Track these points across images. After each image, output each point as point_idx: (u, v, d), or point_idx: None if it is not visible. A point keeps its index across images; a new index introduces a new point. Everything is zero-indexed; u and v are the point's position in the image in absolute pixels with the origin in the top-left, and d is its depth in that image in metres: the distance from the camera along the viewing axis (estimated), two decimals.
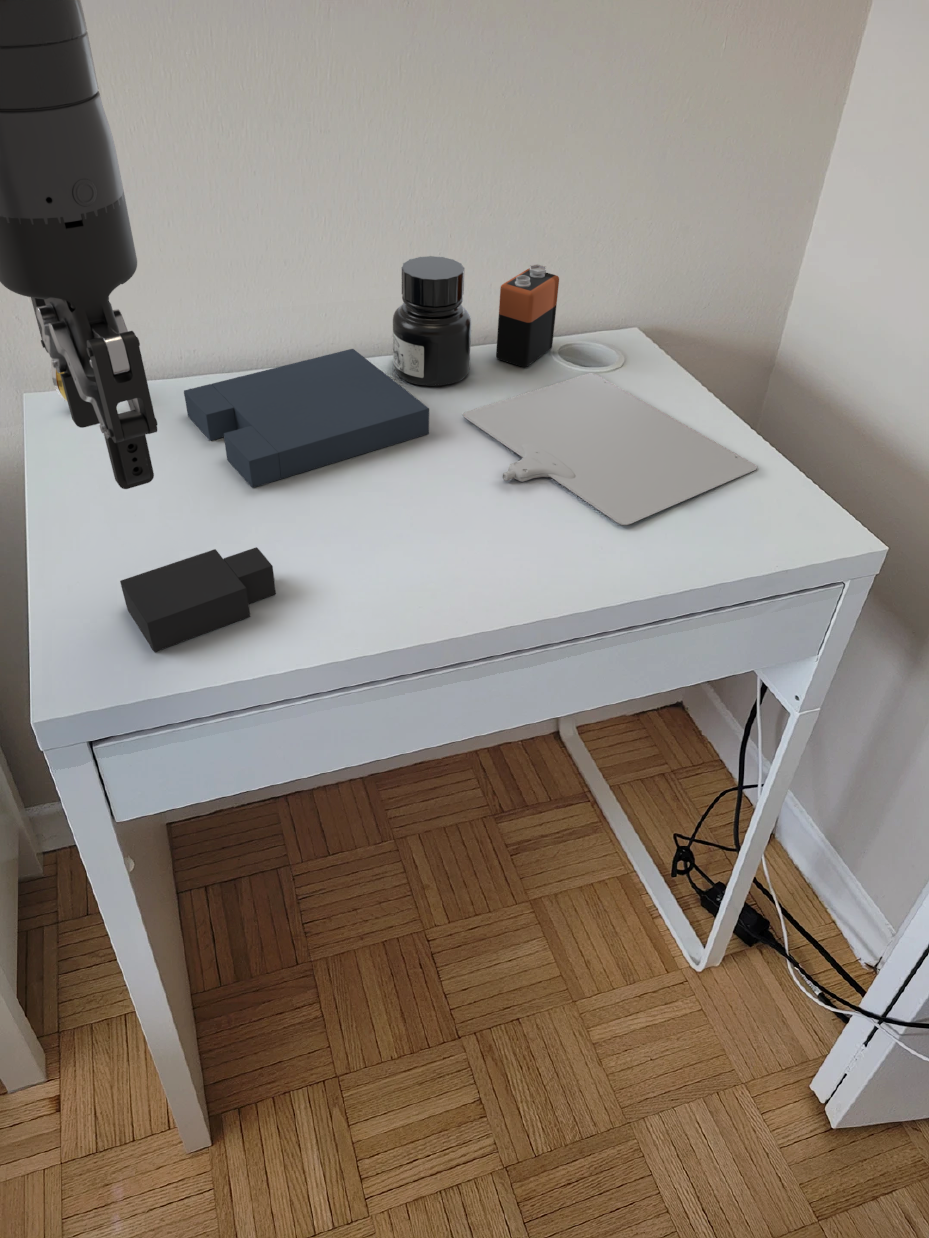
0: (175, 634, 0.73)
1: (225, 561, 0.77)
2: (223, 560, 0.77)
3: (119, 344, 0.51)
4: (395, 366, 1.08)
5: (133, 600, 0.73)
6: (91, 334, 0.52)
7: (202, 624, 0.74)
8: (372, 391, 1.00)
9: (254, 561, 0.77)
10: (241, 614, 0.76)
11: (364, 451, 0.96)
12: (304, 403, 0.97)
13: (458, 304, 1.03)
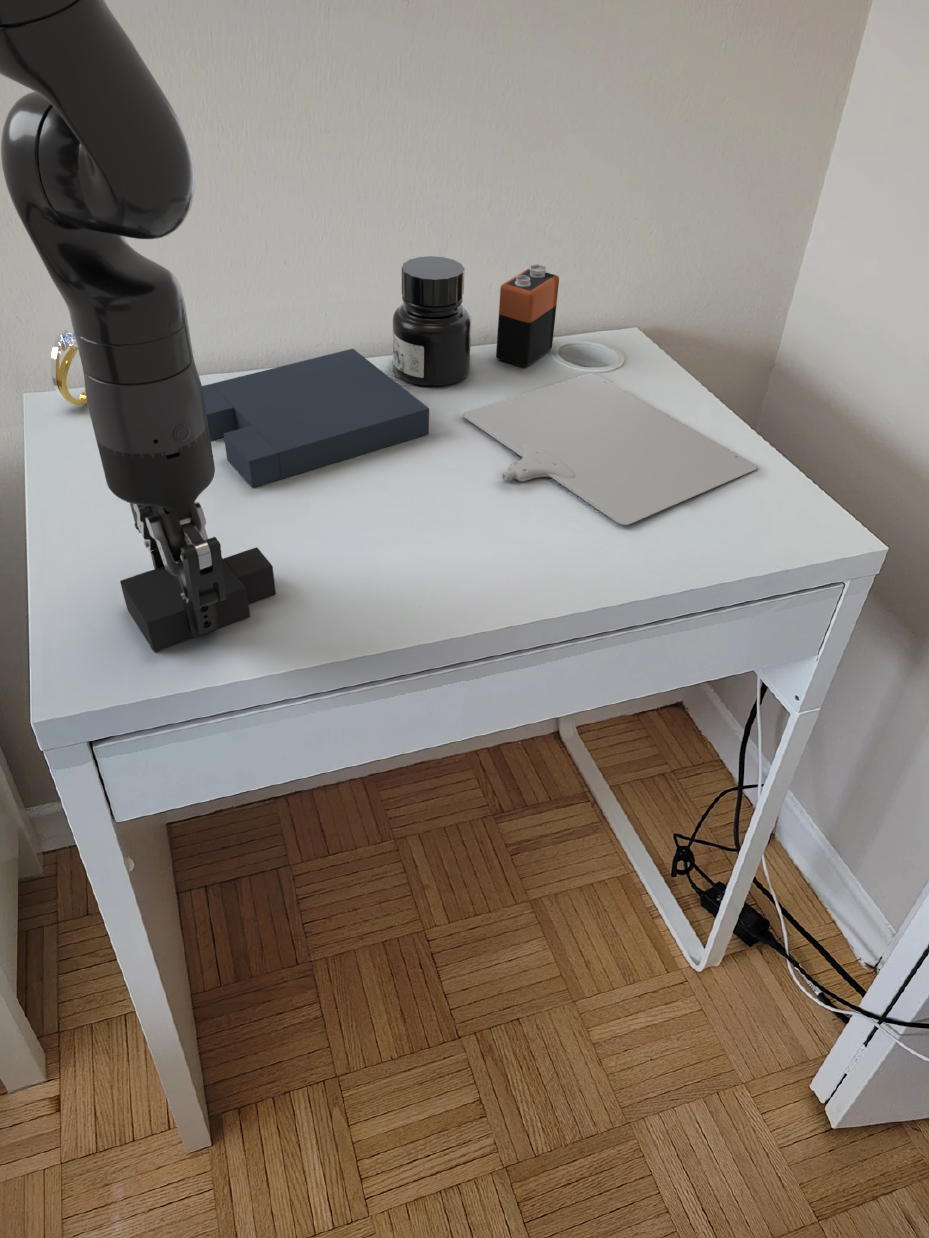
0: (175, 634, 0.73)
1: (225, 561, 0.77)
2: (223, 560, 0.77)
3: (206, 551, 0.66)
4: (395, 366, 1.08)
5: (133, 600, 0.73)
6: (182, 533, 0.67)
7: None
8: (372, 391, 1.00)
9: (254, 561, 0.77)
10: (241, 614, 0.76)
11: (364, 451, 0.96)
12: (304, 403, 0.97)
13: (458, 304, 1.03)
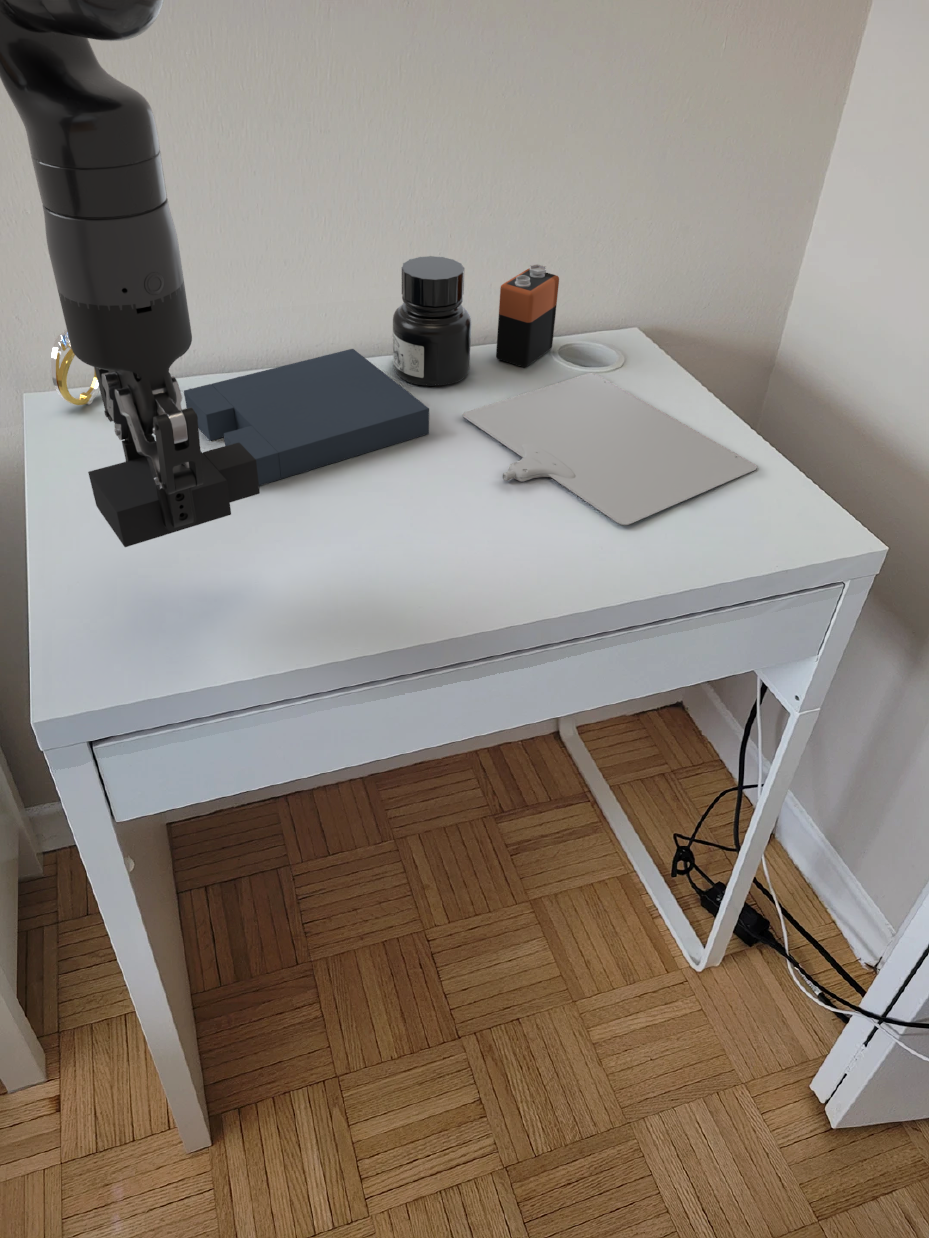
0: (149, 528, 0.67)
1: (204, 455, 0.70)
2: (202, 454, 0.70)
3: (181, 421, 0.59)
4: (395, 366, 1.08)
5: (102, 490, 0.66)
6: (154, 404, 0.60)
7: None
8: (372, 391, 1.00)
9: (236, 455, 0.71)
10: (221, 511, 0.69)
11: (364, 451, 0.96)
12: (304, 403, 0.97)
13: (458, 304, 1.03)
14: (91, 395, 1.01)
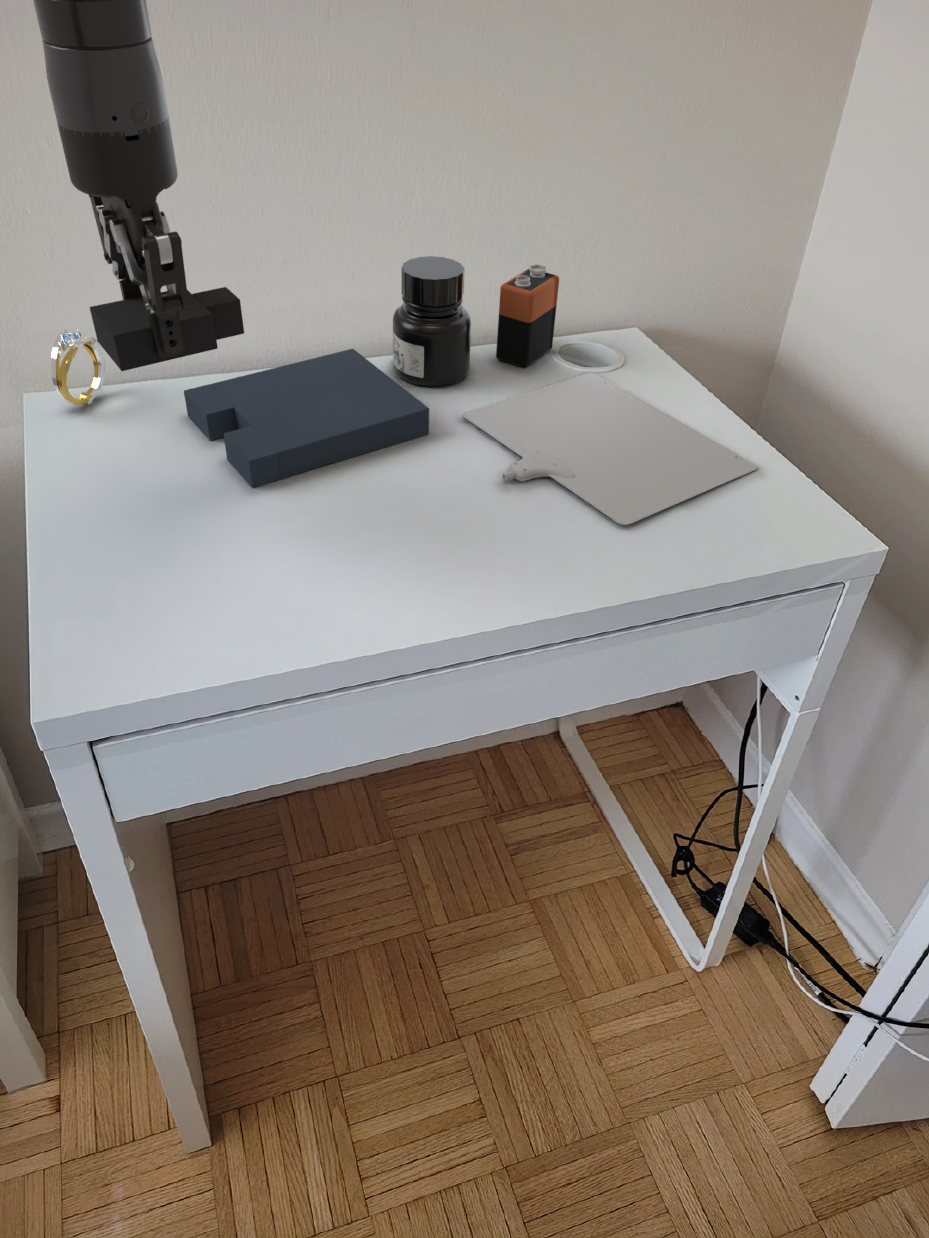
0: (143, 354, 0.75)
1: (193, 295, 0.78)
2: (192, 295, 0.78)
3: (167, 242, 0.67)
4: (395, 366, 1.08)
5: (101, 320, 0.74)
6: (143, 229, 0.68)
7: None
8: (372, 391, 1.00)
9: (222, 296, 0.78)
10: (208, 344, 0.77)
11: (364, 451, 0.96)
12: (304, 403, 0.97)
13: (458, 304, 1.03)
14: (91, 395, 1.01)
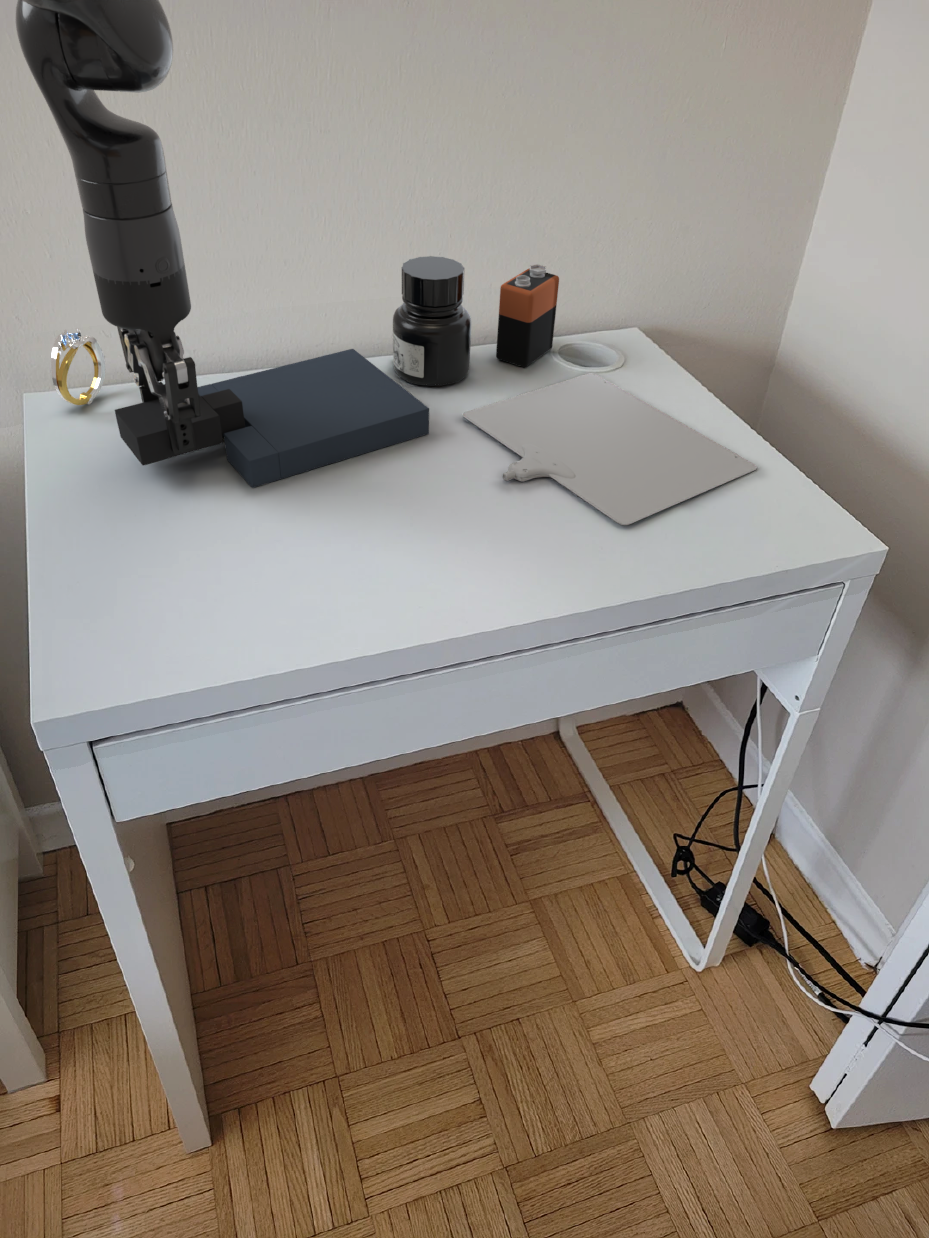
0: (160, 451, 0.88)
1: (202, 398, 0.92)
2: (201, 397, 0.92)
3: (183, 367, 0.81)
4: (395, 366, 1.08)
5: (125, 422, 0.88)
6: (163, 355, 0.82)
7: None
8: (372, 391, 1.00)
9: (227, 398, 0.92)
10: (215, 440, 0.91)
11: (364, 451, 0.96)
12: (304, 403, 0.97)
13: (458, 304, 1.03)
14: (91, 395, 1.01)
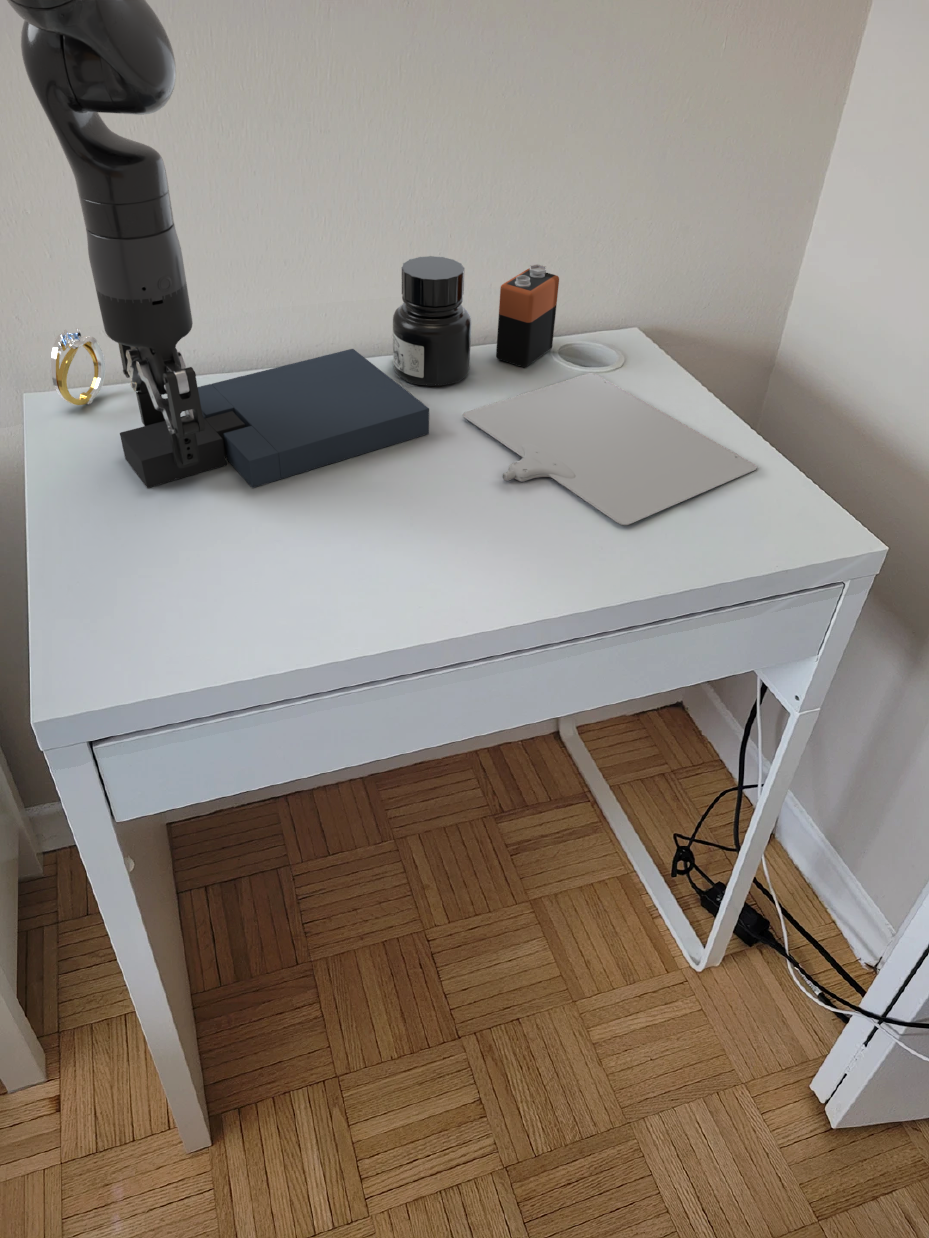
0: (164, 473, 0.90)
1: (206, 420, 0.94)
2: (204, 420, 0.94)
3: (183, 375, 0.81)
4: (395, 366, 1.08)
5: (130, 446, 0.90)
6: (164, 368, 0.83)
7: (186, 467, 0.91)
8: (372, 391, 1.00)
9: (230, 420, 0.94)
10: (218, 462, 0.93)
11: (364, 451, 0.96)
12: (304, 403, 0.97)
13: (458, 304, 1.03)
14: (91, 395, 1.01)
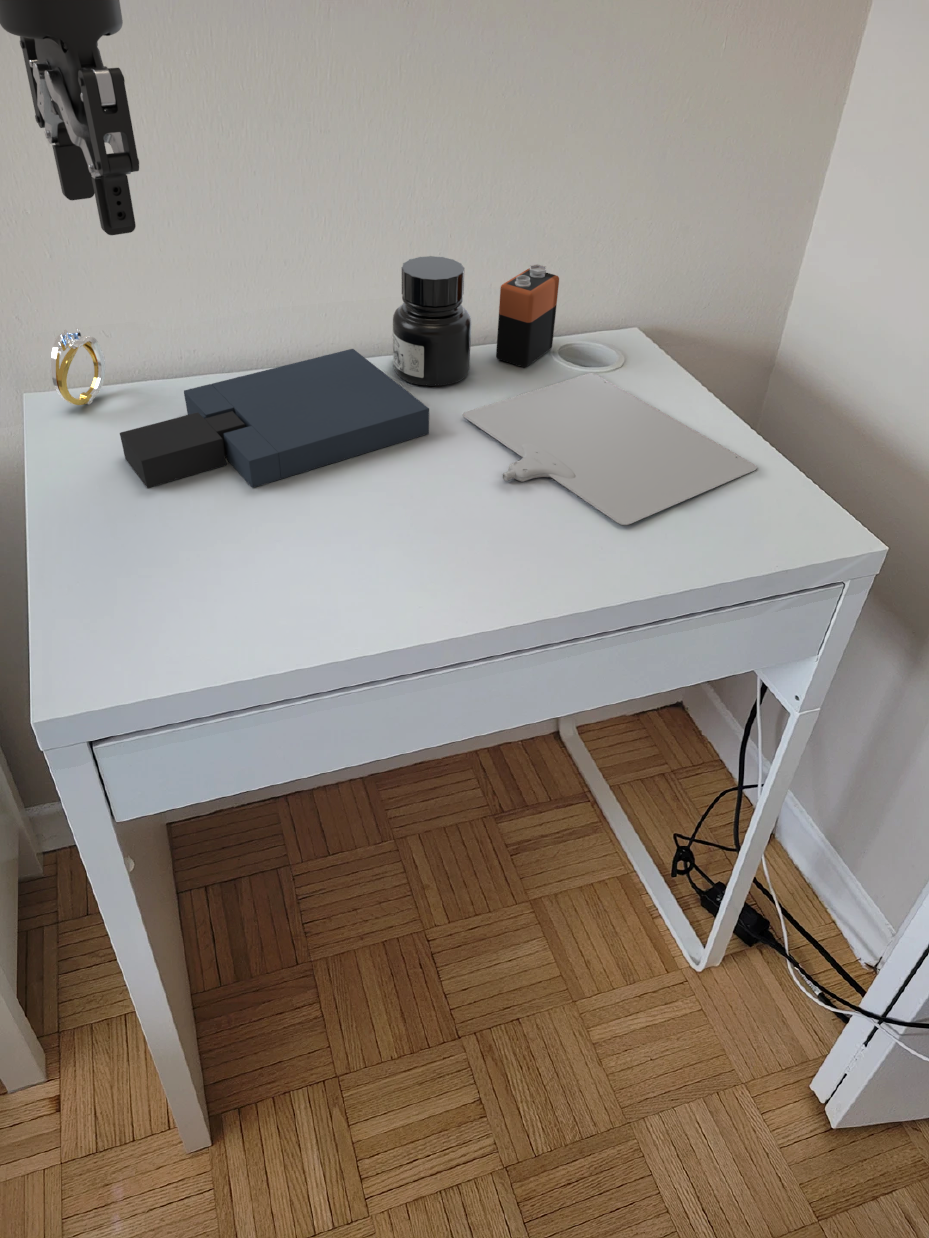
0: (164, 473, 0.90)
1: (206, 420, 0.94)
2: (204, 420, 0.94)
3: (106, 76, 0.58)
4: (395, 366, 1.08)
5: (130, 446, 0.90)
6: None
7: (186, 467, 0.91)
8: (372, 391, 1.00)
9: (230, 420, 0.94)
10: (218, 462, 0.93)
11: (364, 451, 0.96)
12: (304, 403, 0.97)
13: (458, 304, 1.03)
14: (91, 395, 1.01)
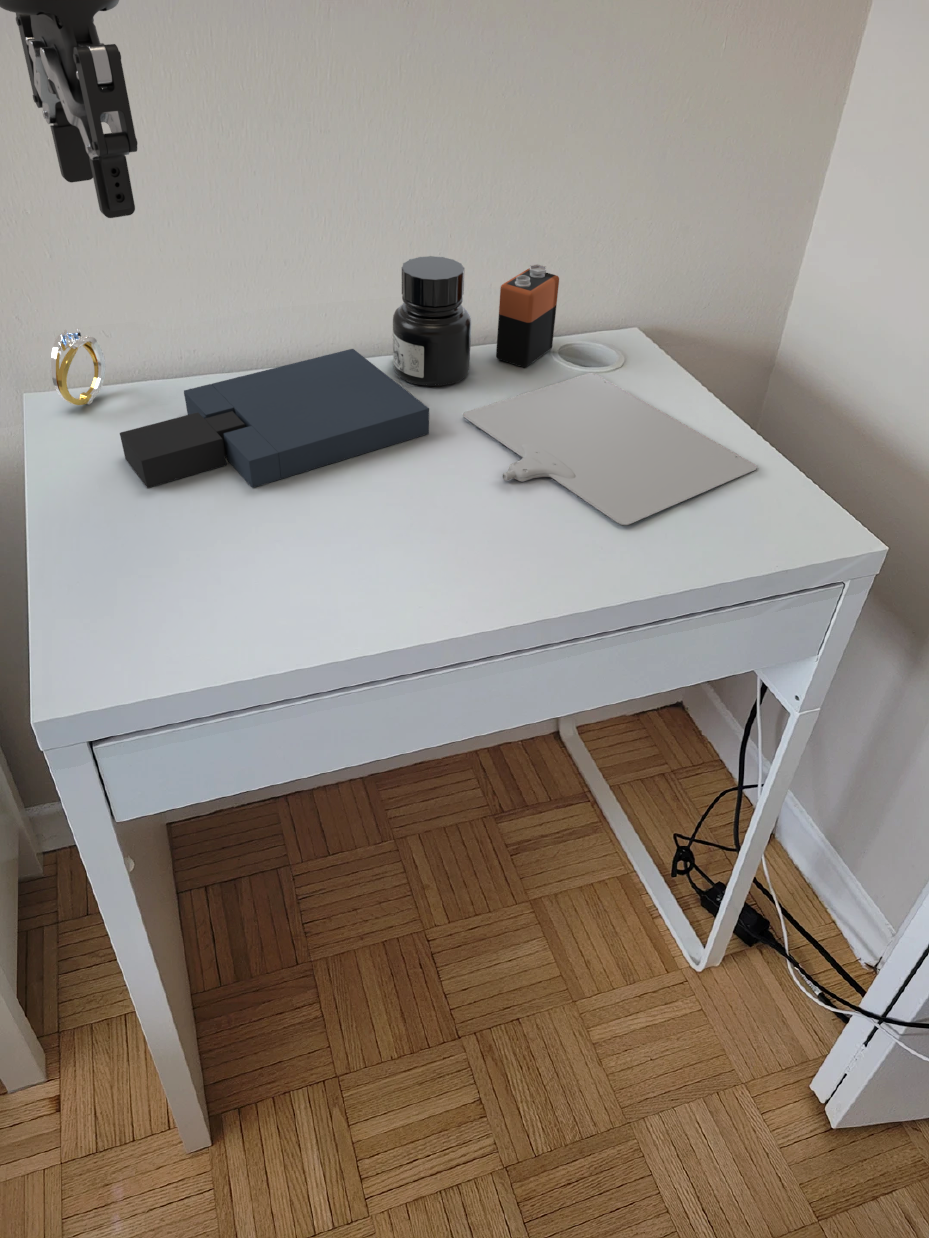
0: (164, 473, 0.90)
1: (206, 420, 0.94)
2: (204, 420, 0.94)
3: (102, 53, 0.57)
4: (395, 366, 1.08)
5: (130, 446, 0.90)
6: None
7: (186, 467, 0.91)
8: (372, 391, 1.00)
9: (230, 420, 0.94)
10: (218, 462, 0.93)
11: (364, 451, 0.96)
12: (304, 403, 0.97)
13: (458, 304, 1.03)
14: (91, 395, 1.01)
